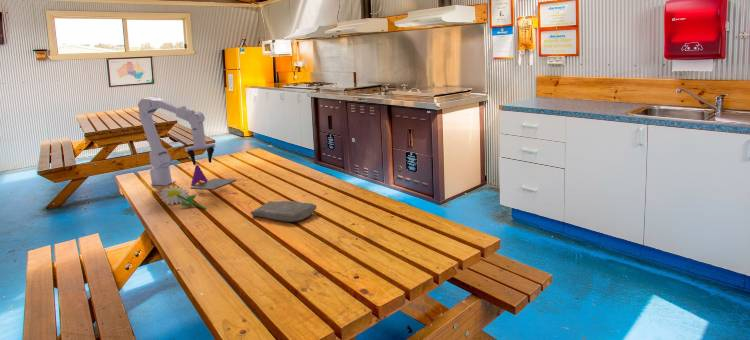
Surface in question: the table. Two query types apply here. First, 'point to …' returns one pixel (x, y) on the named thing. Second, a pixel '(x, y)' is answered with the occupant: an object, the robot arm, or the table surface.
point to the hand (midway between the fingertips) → (202, 163)
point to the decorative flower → (178, 196)
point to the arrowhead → (198, 176)
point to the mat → (213, 184)
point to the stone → (285, 211)
